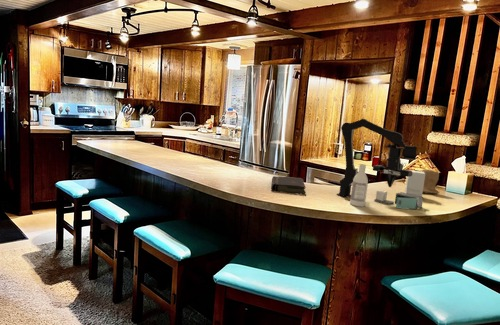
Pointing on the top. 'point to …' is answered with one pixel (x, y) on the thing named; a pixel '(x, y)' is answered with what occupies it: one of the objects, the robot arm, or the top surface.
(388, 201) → the mixer board
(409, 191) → the supplement box
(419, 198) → the rack
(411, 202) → the teal rectangular slab
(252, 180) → the top surface
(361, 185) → the bath foam
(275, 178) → the diary
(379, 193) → the fader knob
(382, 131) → the robot arm
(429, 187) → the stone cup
